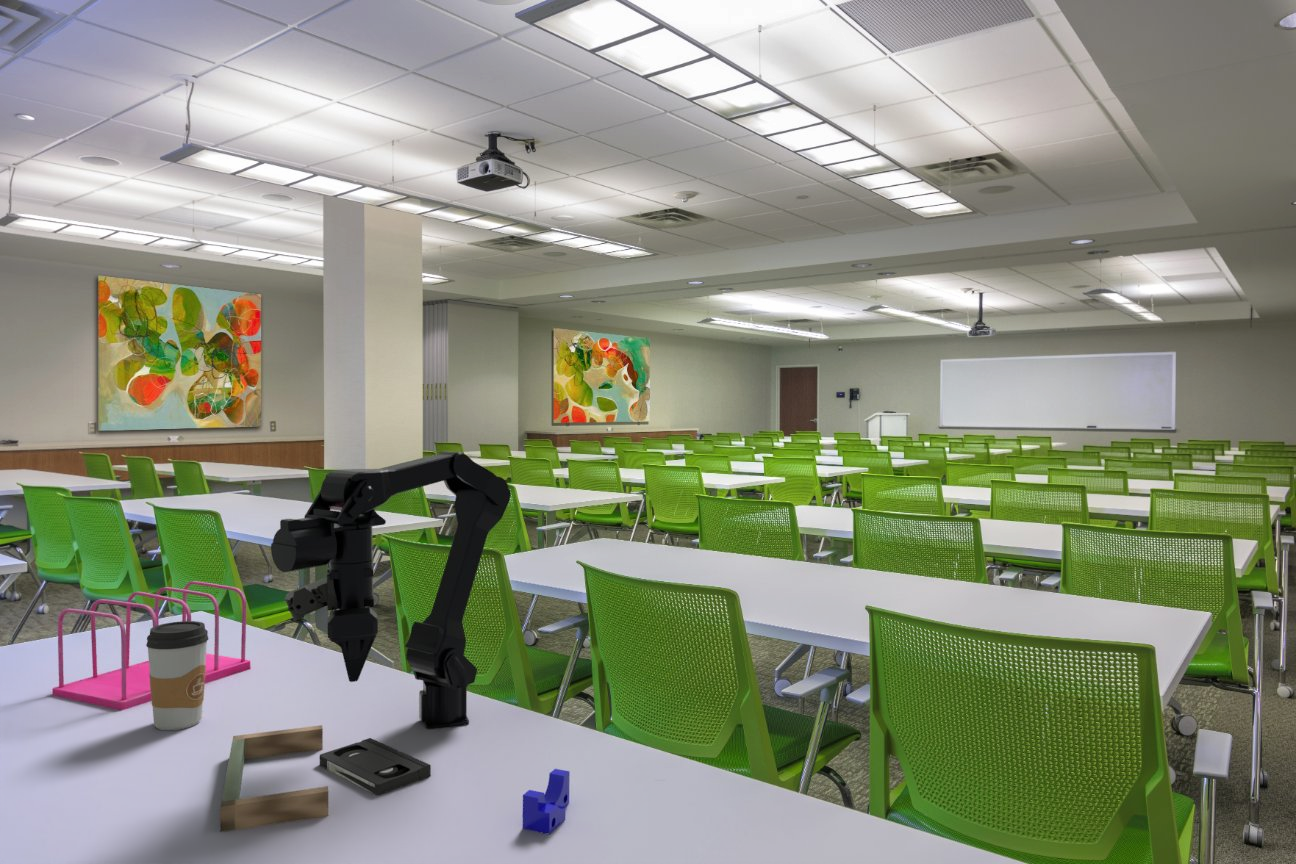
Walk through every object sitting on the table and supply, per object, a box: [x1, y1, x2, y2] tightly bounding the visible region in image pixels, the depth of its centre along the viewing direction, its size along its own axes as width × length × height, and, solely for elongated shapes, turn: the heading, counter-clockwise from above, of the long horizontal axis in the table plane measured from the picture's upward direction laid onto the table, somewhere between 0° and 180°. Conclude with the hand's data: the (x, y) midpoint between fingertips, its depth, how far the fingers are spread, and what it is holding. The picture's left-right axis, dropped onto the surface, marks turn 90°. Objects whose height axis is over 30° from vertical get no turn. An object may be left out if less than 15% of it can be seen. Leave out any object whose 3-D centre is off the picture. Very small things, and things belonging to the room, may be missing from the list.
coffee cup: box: [145, 620, 209, 731], centre depth 131 cm, size 8×8×15 cm
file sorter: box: [52, 580, 251, 711], centre depth 151 cm, size 17×25×16 cm
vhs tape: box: [319, 737, 432, 796], centre depth 115 cm, size 14×8×2 cm, turn 50°
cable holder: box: [522, 768, 570, 834], centre depth 103 cm, size 8×4×4 cm, turn 158°
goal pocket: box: [219, 724, 329, 833], centre depth 111 cm, size 12×23×3 cm, turn 22°
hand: (353, 671), depth 121 cm, fingers open, 9 cm apart
